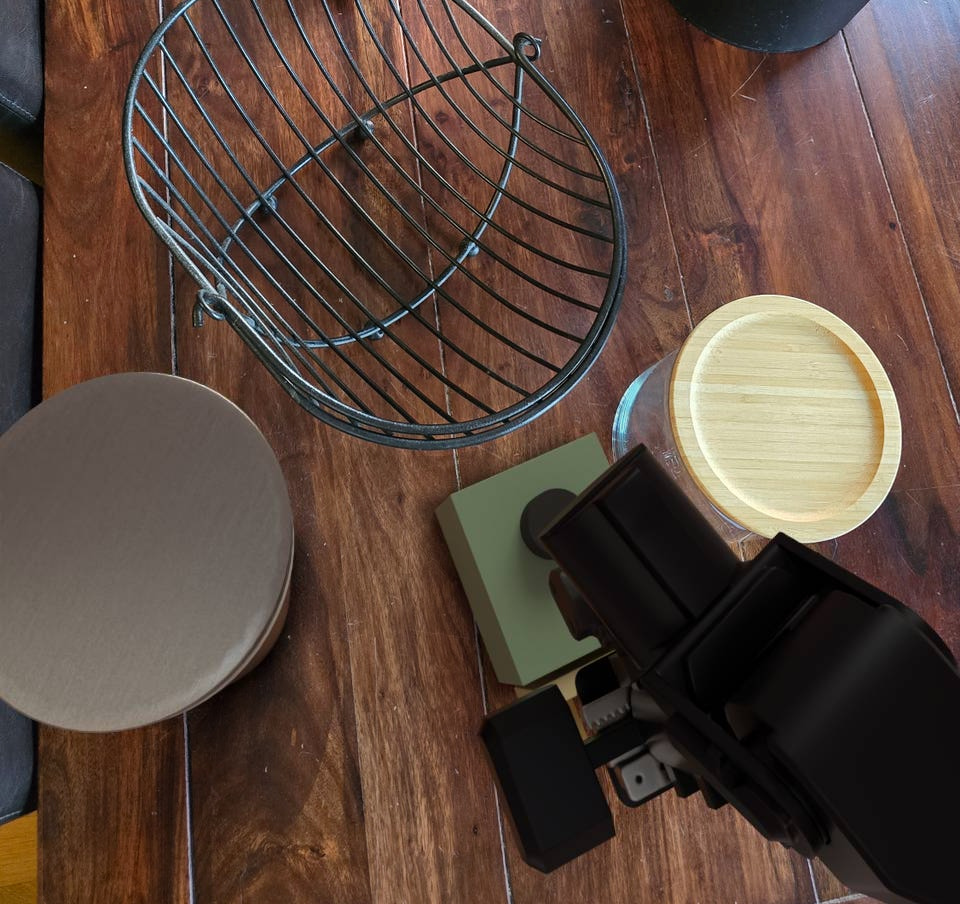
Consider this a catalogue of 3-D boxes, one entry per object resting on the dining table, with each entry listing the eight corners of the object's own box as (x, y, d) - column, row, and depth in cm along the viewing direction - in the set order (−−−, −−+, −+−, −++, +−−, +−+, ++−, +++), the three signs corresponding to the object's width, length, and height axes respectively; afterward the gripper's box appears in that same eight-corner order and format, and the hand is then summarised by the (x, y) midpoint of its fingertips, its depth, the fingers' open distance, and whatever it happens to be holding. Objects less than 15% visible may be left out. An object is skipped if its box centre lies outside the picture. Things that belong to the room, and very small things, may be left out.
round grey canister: (174, 479, 72) (67, 316, 37) (319, 549, 72) (350, 450, 36) (86, 646, 67) (-134, 641, 32) (241, 723, 67) (189, 802, 32)
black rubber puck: (590, 544, 66) (600, 540, 64) (534, 570, 65) (543, 567, 63) (564, 483, 68) (574, 477, 66) (510, 508, 67) (517, 503, 64)
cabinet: (636, 614, 72) (673, 610, 65) (499, 682, 70) (522, 686, 62) (566, 452, 76) (595, 431, 69) (434, 510, 74) (449, 494, 66)
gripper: (830, 424, 52) (717, 472, 65) (452, 601, 46) (415, 613, 60) (965, 682, 48) (814, 676, 61) (567, 912, 42) (499, 848, 56)
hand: (638, 695), depth 60 cm, fingers closed
